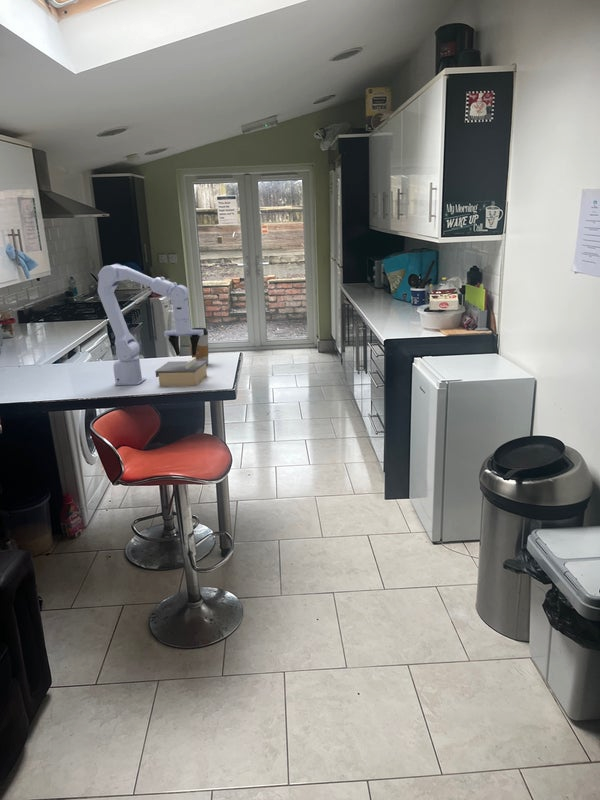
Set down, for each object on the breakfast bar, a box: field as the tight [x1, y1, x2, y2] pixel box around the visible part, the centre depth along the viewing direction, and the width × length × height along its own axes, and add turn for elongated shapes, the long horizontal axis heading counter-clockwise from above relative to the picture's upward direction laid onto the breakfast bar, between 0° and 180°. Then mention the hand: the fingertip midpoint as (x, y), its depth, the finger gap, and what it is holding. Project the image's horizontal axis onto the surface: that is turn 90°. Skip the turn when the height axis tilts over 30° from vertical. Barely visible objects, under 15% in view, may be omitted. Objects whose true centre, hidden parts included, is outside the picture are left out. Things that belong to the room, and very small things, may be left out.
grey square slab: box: [155, 357, 206, 378], centre depth 228 cm, size 15×15×4 cm
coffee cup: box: [188, 327, 209, 366], centre depth 252 cm, size 8×8×15 cm
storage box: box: [158, 363, 208, 387], centre depth 228 cm, size 14×14×5 cm
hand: (186, 355), depth 226 cm, fingers open, 6 cm apart
